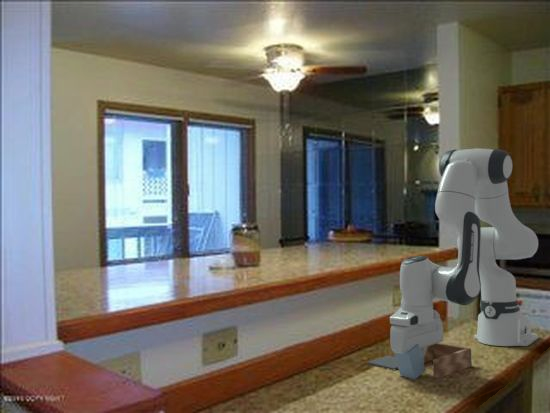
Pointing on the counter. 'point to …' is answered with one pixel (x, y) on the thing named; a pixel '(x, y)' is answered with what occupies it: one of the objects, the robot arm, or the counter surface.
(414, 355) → the block
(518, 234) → the robot arm
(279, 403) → the counter surface
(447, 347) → the frame
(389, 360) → the pad
